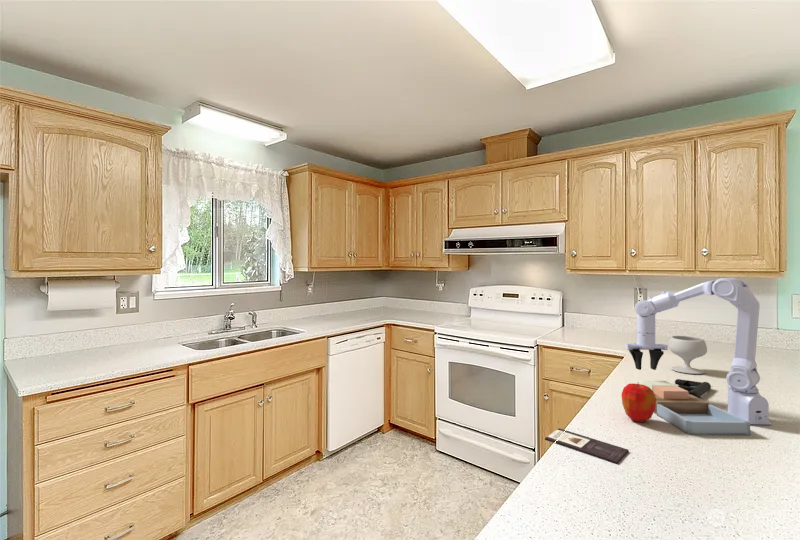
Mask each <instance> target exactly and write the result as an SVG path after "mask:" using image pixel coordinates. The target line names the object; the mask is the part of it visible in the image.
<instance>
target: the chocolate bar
mask: <svg viewBox="0 0 800 540" xmlns="http://www.w3.org/2000/svg"><path fill="white" fill-rule="evenodd" d="M565 430H566V429H563V428H557V429H556V430H554V431H553V432H551V433H550V434H549V435H547V436H546V437H544V440H545V441H547V442H550V443H554V442H555V441H556V440H557V439H558V438H559V437H560V438H559V439H558V441H556V443H554V444H556V445H559V446H562V447H565V448H567V449H571V450H574V451H577V452H579V453H582V454H586V455H588V456H591V457H595V458H598V459H600V460H604V461H606V462H610V463H612V464H615V465H618V464H619V463H620V462H621V461H622V460H623V459H624V457H626V455H628V453H629V449H627V448H625V447H621V446H618V445H615V444H612V443H608V442H605V441H602V440H598V439H595V438H592V437H589V436H585V435H582V434H579V433H577V432H576V433H575V432H572V431H570V430H566V431H565ZM564 431H565V432H564ZM563 432H564V433H563ZM562 433H563V434H562ZM561 434H562V435H561ZM560 435H561V436H560Z"/></svg>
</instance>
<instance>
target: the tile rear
mask: <svg viewBox="0 0 800 540" xmlns="http://www.w3.org/2000/svg"><path fill="white" fill-rule="evenodd" d="M642 385H645V386H648V387H649V388H650V389H651V390H652V391H653V386H677V385H676V384H673V383H671V382H669V381H666V380H642Z"/></svg>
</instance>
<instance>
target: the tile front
mask: <svg viewBox="0 0 800 540" xmlns="http://www.w3.org/2000/svg"><path fill="white" fill-rule="evenodd" d="M678 386H679V385H676V386H653V392H654V394H656V395H657V396H659V397H661V398H663V399H688V391H687V390H684V389H682V388H680V387H678Z"/></svg>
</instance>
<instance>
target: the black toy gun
mask: <svg viewBox="0 0 800 540" xmlns="http://www.w3.org/2000/svg"><path fill="white" fill-rule="evenodd" d="M674 383H675V384H674V385H676V384H678V385H677V386H678V387H680V388H682V389H684V390H687V391H688V393H689V394H691V395H693V396H695V397H697V398H703V397H704V396H705V395H706V394H708V391H710V390H712V387H714V386H713V385H711V383H709V382H707V381H702V382H701V381H694V380H688V379H687V380H686V379H680V378H678V379H675V380H674ZM704 394H705V395H704ZM703 395H704V396H703Z"/></svg>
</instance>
